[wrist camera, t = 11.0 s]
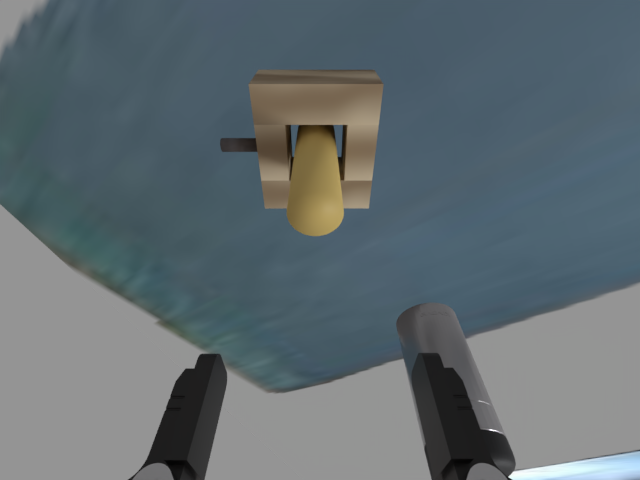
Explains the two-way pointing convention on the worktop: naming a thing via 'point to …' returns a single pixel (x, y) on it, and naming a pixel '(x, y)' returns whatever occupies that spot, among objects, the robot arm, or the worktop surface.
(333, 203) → the peg
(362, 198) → the socket mount
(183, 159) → the worktop surface
